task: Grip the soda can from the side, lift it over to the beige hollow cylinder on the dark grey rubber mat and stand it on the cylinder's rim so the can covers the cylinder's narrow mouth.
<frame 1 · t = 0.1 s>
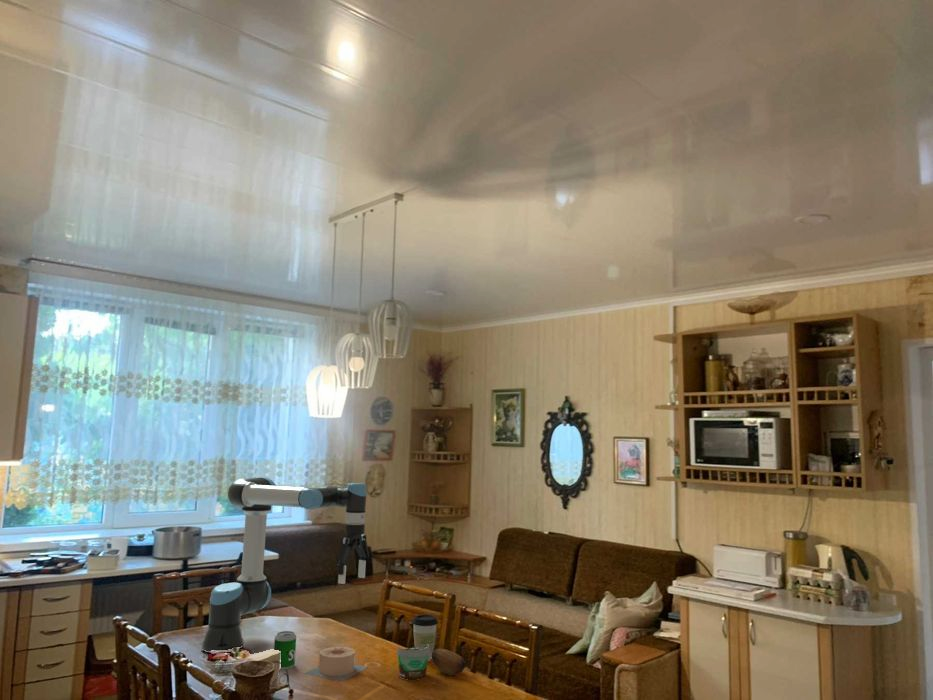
hand: (351, 580, 249), 28 cm above the table, tool pointing down, fingers open, 13 cm apart
food container: (415, 679, 224), on the table
potato: (448, 674, 230), on the table
rubber mat: (336, 673, 228), on the table
beige hollow cylinder: (336, 670, 228), resting on rubber mat
soda can: (283, 669, 231), on the table
coffee cup: (423, 659, 245), on the table
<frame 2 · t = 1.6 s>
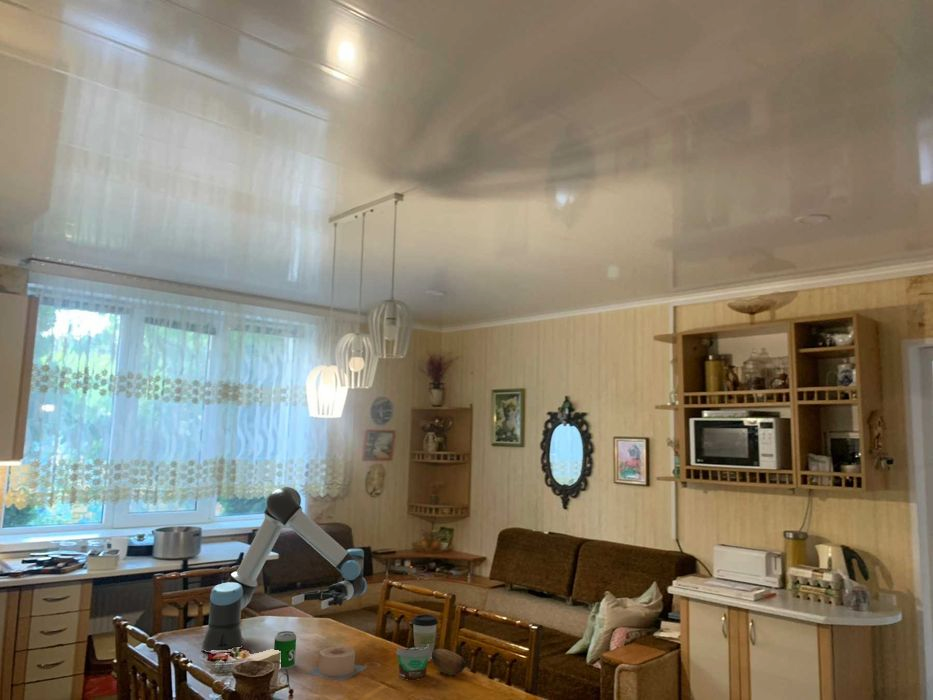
hand: (307, 603, 244), 20 cm above the table, tool horizontal, fingers open, 13 cm apart
nothing on the table moved.
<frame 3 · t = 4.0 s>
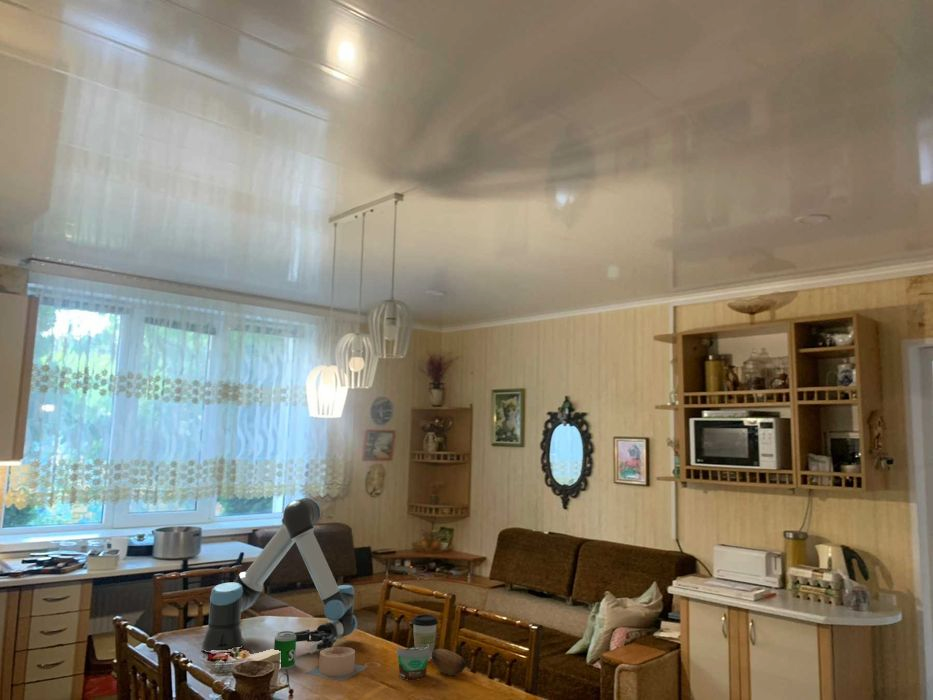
hand: (295, 646, 236), 6 cm above the table, tool horizontal, fingers open, 13 cm apart
nothing on the table moved.
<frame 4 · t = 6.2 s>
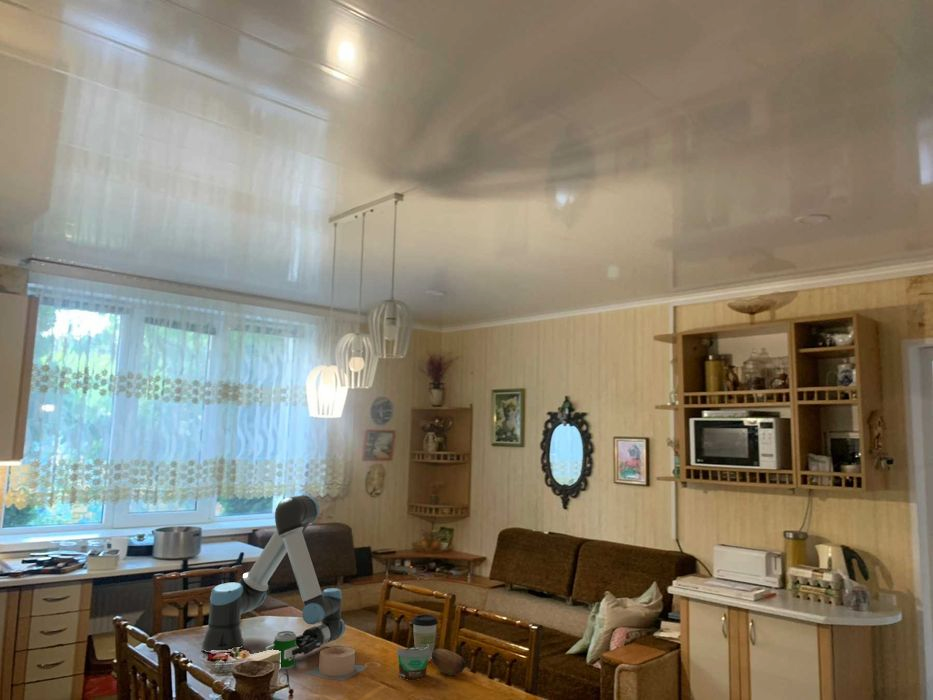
hand: (275, 653, 228), 7 cm above the table, tool horizontal, fingers closed on soda can, 7 cm apart
soda can: (283, 669, 231), on the table, touching gripper
everything else where it was.
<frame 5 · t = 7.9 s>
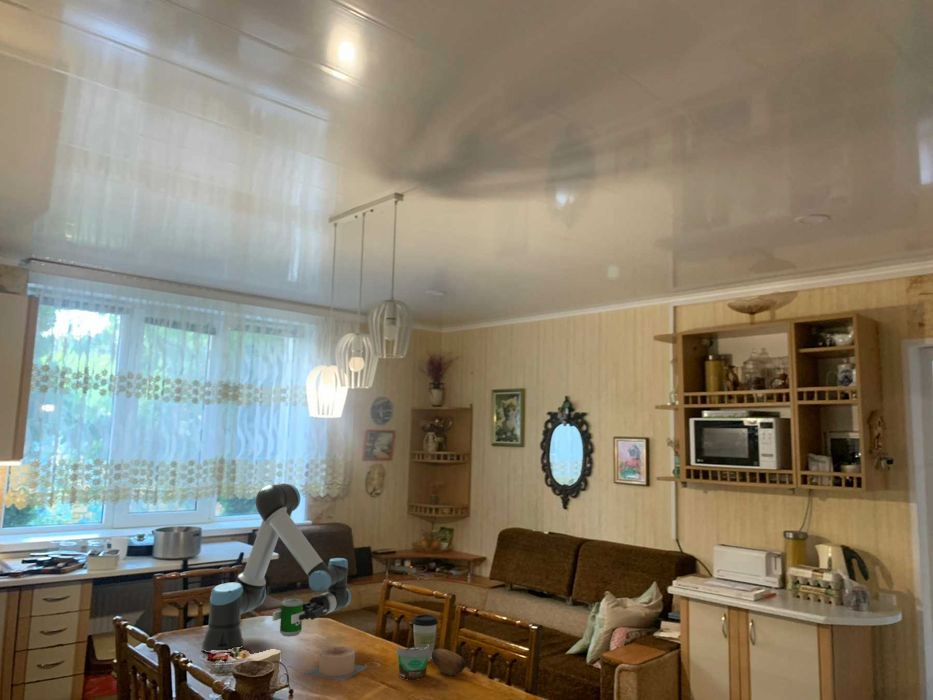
hand: (282, 618, 229), 18 cm above the table, tool horizontal, fingers closed on soda can, 7 cm apart
soda can: (290, 634, 232), point 12 cm above the table, touching gripper
everything else where it was.
when the fingers open (15 cm above the table, at t = 10.0 s): soda can drops 1 cm, resting on beige hollow cylinder.
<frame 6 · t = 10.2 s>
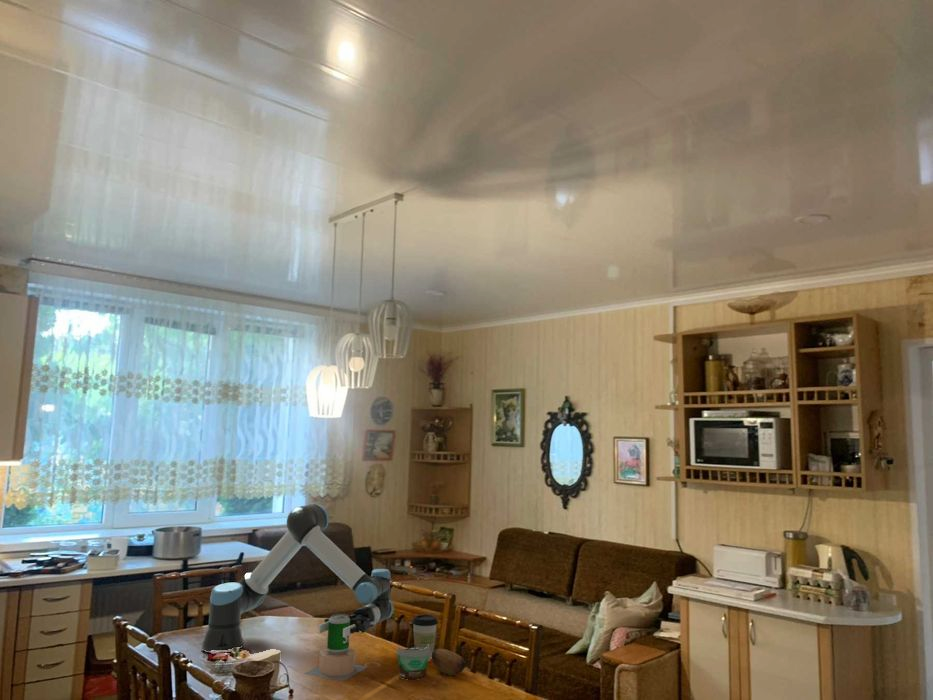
hand: (331, 631, 226), 15 cm above the table, tool horizontal, fingers open, 9 cm apart
soda can: (337, 652, 229), point 7 cm above the table, touching beige hollow cylinder
everything else where it was.
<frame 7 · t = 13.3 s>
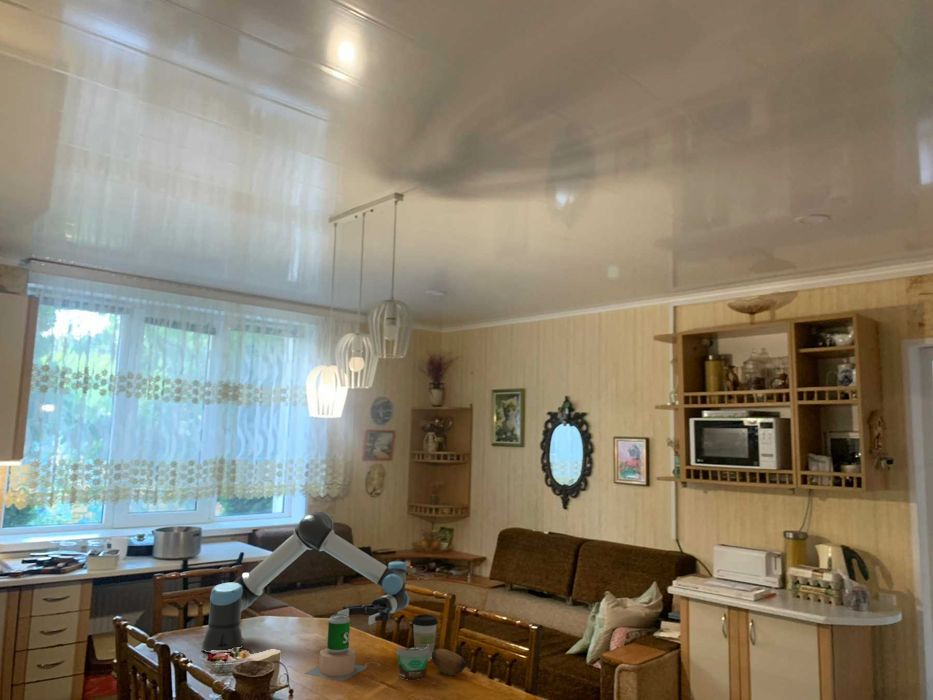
hand: (353, 618, 240), 16 cm above the table, tool horizontal, fingers open, 13 cm apart
nothing on the table moved.
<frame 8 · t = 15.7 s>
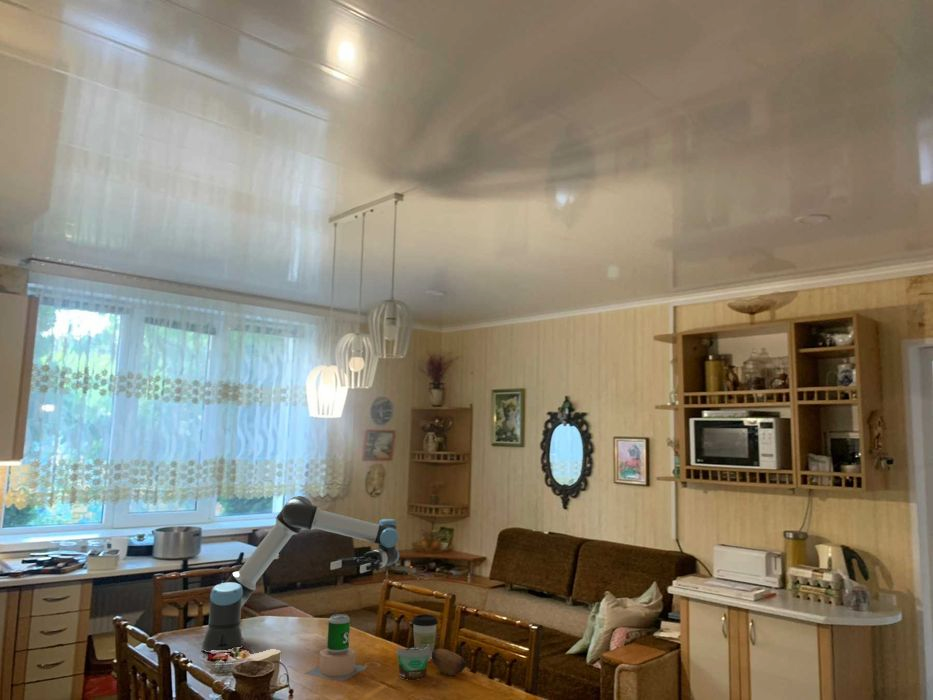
hand: (345, 567, 253), 32 cm above the table, tool horizontal, fingers open, 13 cm apart
nothing on the table moved.
at the end: soda can 0.1 cm off-centre on the beige hollow cylinder, point 5.8 cm above the beige hollow cylinder's base; soda can tilted 0°; soda can touching beige hollow cylinder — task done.
